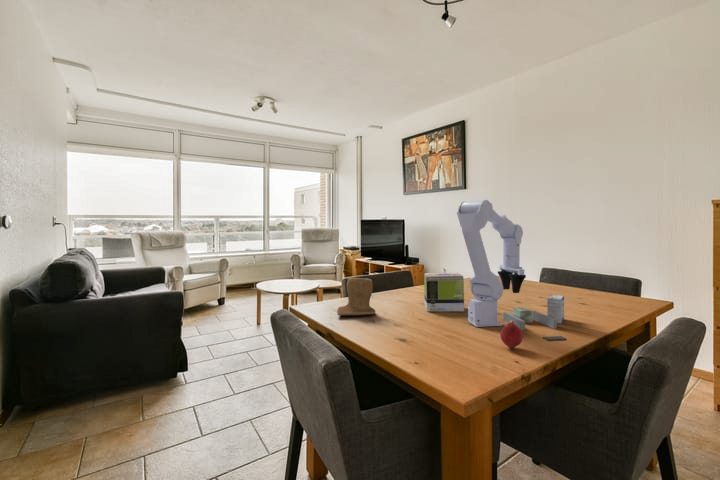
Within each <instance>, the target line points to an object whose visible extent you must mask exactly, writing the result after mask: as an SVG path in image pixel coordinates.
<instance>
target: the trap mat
mask: <svg viewBox="0 0 720 480" xmlns="http://www.w3.org/2000/svg"><path fill="white" fill-rule="evenodd" d="M542 339H544V340H545V341H547V342H548V341H549V342H551V341H567V338H566V337H565V336H562V335H555V336H554V335H553V336H543V337H542Z"/></svg>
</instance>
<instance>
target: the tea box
mask: <svg viewBox="0 0 720 480" xmlns="http://www.w3.org/2000/svg"><path fill="white" fill-rule="evenodd" d="M423 283H424V284H423V286H424V289H423V290H424V294H423V295H424V306H425V309H426V311H427V312H465V289H464V288H465V285H464V275H463V274H461V273H459V272H436V273H435V272H430V273H429V272H426V273H424V274H423Z"/></svg>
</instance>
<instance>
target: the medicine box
mask: <svg viewBox="0 0 720 480" xmlns="http://www.w3.org/2000/svg"><path fill="white" fill-rule="evenodd" d="M546 304H547V306H546V307H547V308H546V309H547V313H546V314H547V316H549V317H551V318H554V319H556V320H557V325H558V324H559V325H562V323H563V321H564V320H565V296H564V295H558V294H557V295H556V294H552V295H550V296H549V297H548V298H547V302H546Z"/></svg>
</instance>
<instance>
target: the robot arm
mask: <svg viewBox="0 0 720 480" xmlns="http://www.w3.org/2000/svg"><path fill="white" fill-rule="evenodd" d="M456 215H457V218H458V222H459V224H460V228H461V232H462V236H463V239H464V242H465V247H466V249H467V253H468V256H469V260H470V263H471V266H472V269H473V275H472V276H471V277H470V279H469V282H470V291H471V294H472V295H473V298H472V299H469V301H468V306H467V308H468V310H467V315H468V316H467V321H468V322H469V323H470V324H471V325H473V326H475V327H476V328H479V327H480V328H481V327H483V328H485V327H502V326H503V324H502V323H501V322H499V321H498V300H500V299H501V297H502V296H503V295H504V290H510V289H511V291H512V293H513V294H520V291H521V287H522V284H523V282H524V280H525V278H527V275H526V274H525V269H523V266H520V247H521V246H520V245H521V244H522V238H523V235H524V231H523V227H522V225H519V224H517V223H516V224H515V223H514V222H513V221H512V220H510V219H509V218H507V215H505V214H501V215H499V214H498V213H497V212H496V210H494V209H493V203H492V202H490V201H489V200H488V199H484V200H473V201H461V202H460V203H459V205H458V208H457V210H456ZM488 222H490V223H491V226H492V228H493V229H494V230H495V231H497V232H498V234H499V235H500V238H501V239H502V240H503V241H502V244H503V245H502V249H503V250H502V252H503V253H502V255H503V256H502V264H499V267H498V269H499V270H500V271H497V275H496V274H495V273H494V272H493V271H492V270H491V268H490V264H489V261H488V257H487V253H486V250H485V246H484V245H485V244H484V242H483V239H482V236H481V230H482V229H484V228H485V227H486V225H487V223H488ZM510 287H511V288H510Z"/></svg>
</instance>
